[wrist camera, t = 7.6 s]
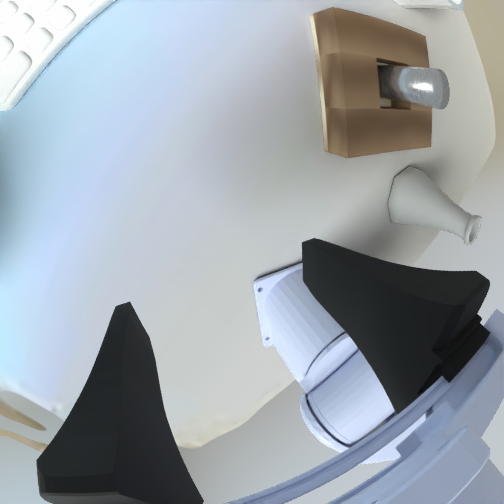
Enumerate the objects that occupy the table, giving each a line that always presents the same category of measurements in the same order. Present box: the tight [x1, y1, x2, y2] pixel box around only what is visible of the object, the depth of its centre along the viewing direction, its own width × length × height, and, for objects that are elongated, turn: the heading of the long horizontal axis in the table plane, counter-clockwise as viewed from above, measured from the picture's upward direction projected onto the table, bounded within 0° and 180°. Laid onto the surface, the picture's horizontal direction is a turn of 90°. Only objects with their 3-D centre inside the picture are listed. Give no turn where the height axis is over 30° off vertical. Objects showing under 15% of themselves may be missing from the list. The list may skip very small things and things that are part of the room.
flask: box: [388, 166, 481, 245], centre depth 24 cm, size 7×7×10 cm
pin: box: [377, 65, 449, 109], centre depth 16 cm, size 3×3×7 cm
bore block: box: [310, 7, 432, 158], centre depth 18 cm, size 12×12×3 cm
